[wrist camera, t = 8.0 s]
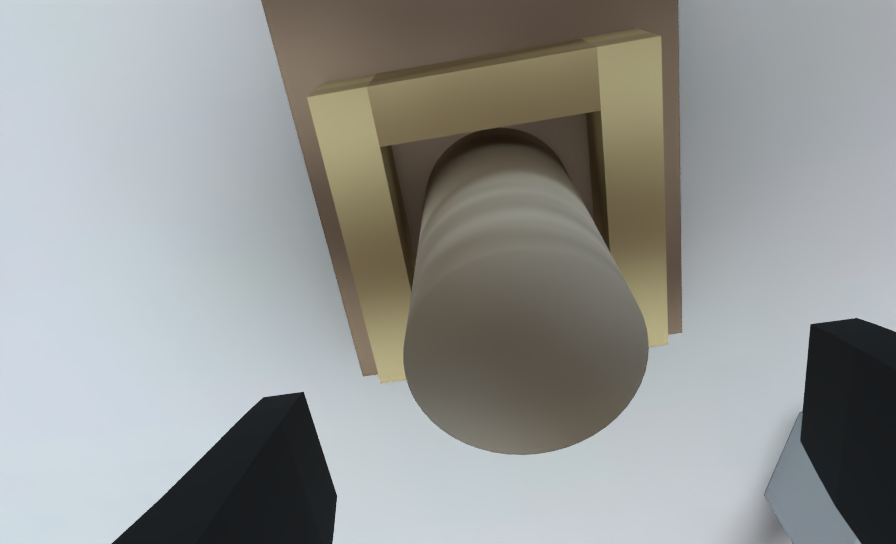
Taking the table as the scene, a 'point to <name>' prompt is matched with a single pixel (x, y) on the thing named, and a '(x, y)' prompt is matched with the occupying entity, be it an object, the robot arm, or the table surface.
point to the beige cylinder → (517, 303)
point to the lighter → (804, 499)
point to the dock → (479, 108)
